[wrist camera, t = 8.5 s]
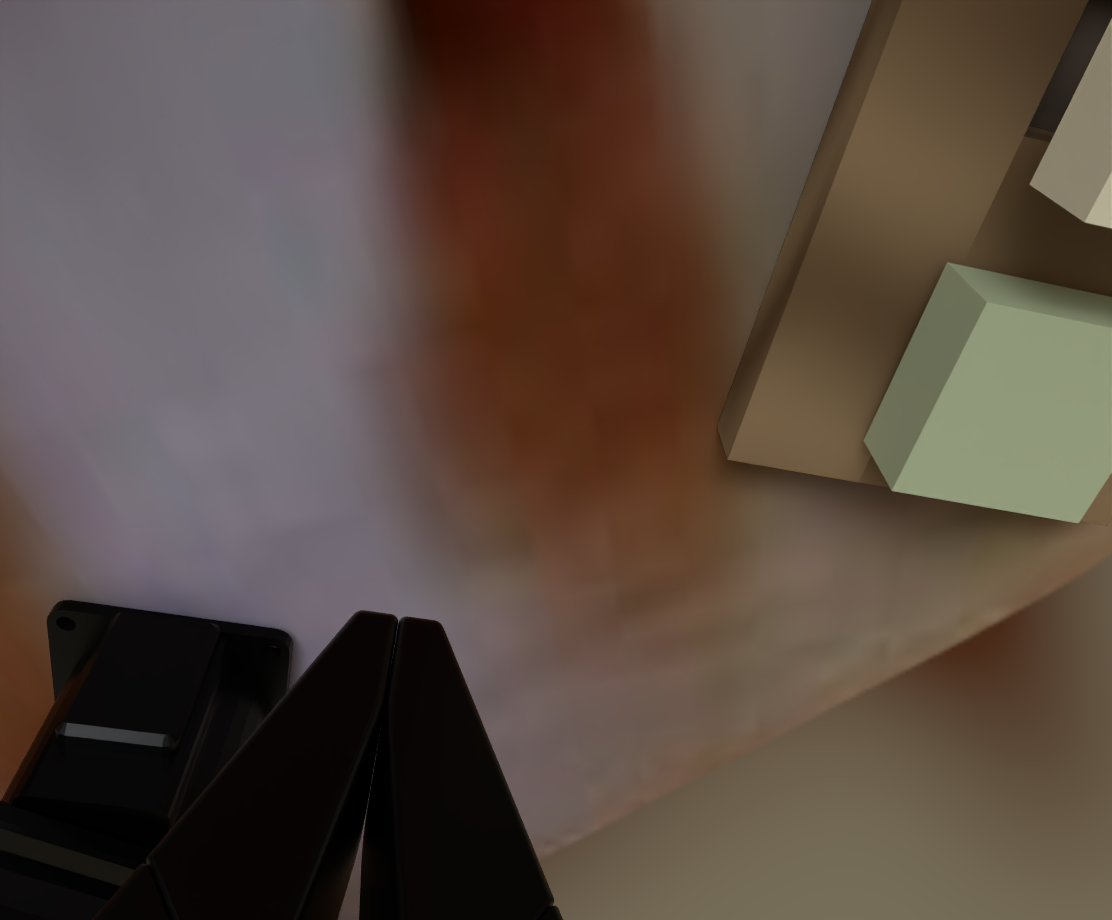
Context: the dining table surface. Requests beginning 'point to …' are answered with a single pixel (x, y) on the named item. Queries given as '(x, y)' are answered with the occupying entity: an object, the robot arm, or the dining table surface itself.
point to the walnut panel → (907, 223)
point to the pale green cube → (1002, 397)
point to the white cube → (1084, 146)
